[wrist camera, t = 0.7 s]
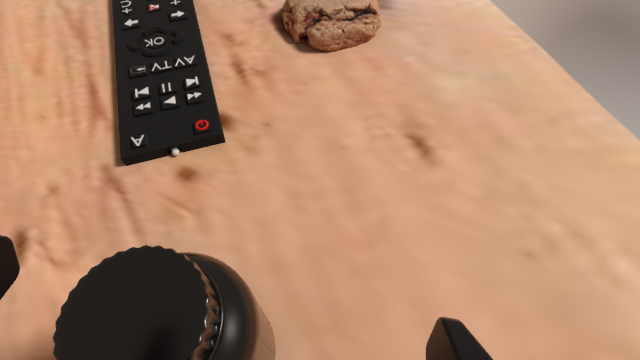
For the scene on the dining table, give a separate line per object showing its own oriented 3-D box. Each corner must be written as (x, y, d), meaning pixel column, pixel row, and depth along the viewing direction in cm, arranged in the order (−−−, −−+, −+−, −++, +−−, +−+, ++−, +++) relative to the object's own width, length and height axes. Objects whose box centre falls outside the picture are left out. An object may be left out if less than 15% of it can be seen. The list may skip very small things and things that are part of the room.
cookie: (381, -8, 40) (386, -36, 38) (378, 60, 35) (383, 33, 33) (291, -15, 41) (289, -43, 38) (274, 51, 36) (271, 24, 33)
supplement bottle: (162, 305, 23) (40, 232, 13) (270, 287, 24) (236, 204, 14) (156, 435, 20) (-16, 475, 10) (283, 410, 21) (249, 423, 10)
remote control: (129, 172, 29) (118, 158, 27) (115, -47, 44) (107, -65, 43) (227, 149, 30) (222, 133, 28) (180, -56, 46) (175, -74, 44)
